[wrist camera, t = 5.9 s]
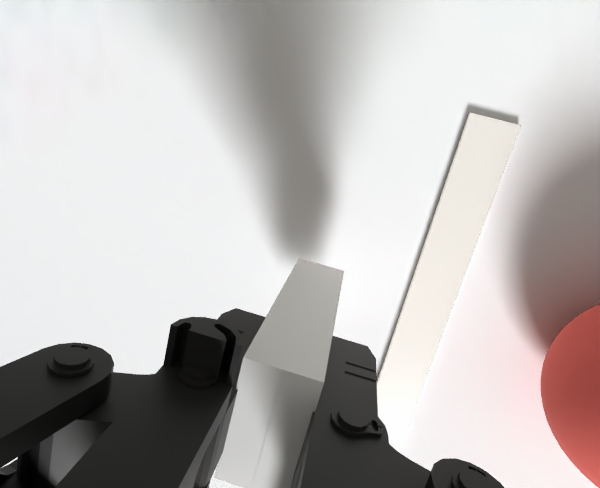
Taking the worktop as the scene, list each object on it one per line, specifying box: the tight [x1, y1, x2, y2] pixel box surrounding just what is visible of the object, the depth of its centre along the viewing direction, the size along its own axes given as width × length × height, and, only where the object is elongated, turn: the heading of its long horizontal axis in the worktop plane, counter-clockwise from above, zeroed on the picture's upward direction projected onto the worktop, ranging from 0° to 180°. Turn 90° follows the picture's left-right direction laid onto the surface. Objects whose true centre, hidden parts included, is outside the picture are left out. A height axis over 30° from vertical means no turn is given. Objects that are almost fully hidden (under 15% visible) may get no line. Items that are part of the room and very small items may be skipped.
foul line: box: [377, 113, 521, 451], centre depth 16 cm, size 2×14×1 cm, turn 166°
